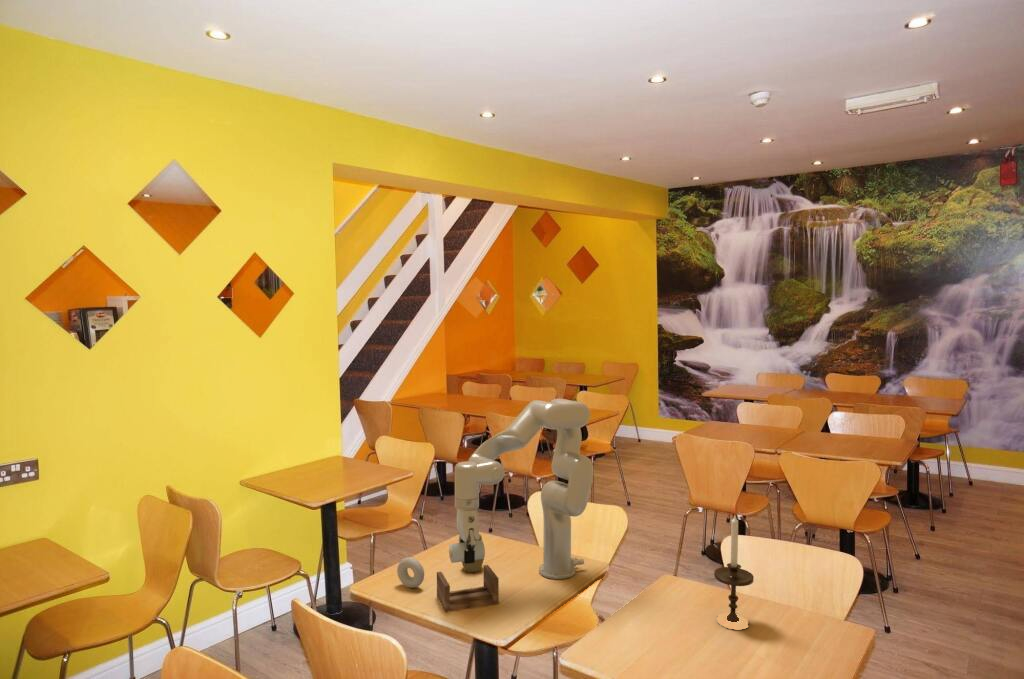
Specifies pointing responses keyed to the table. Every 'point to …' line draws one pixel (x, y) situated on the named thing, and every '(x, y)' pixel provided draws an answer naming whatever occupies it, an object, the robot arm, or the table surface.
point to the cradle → (468, 593)
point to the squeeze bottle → (477, 564)
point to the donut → (415, 567)
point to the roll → (458, 550)
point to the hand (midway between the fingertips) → (466, 558)
